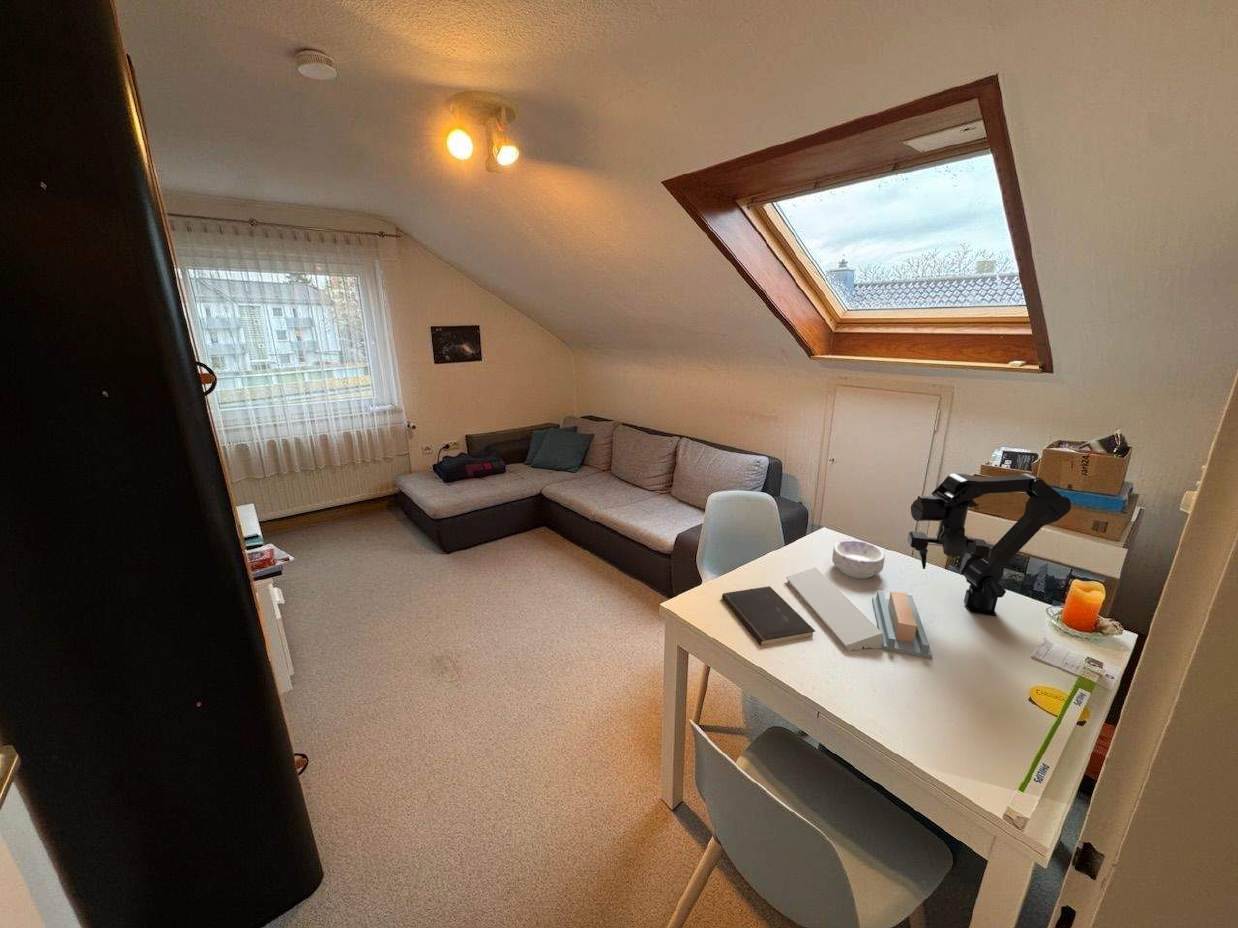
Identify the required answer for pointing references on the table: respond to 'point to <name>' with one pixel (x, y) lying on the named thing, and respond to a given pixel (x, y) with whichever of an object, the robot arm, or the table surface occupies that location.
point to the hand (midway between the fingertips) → (942, 571)
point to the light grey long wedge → (836, 611)
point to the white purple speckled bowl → (858, 558)
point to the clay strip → (902, 617)
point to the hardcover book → (767, 615)
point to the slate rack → (886, 627)
